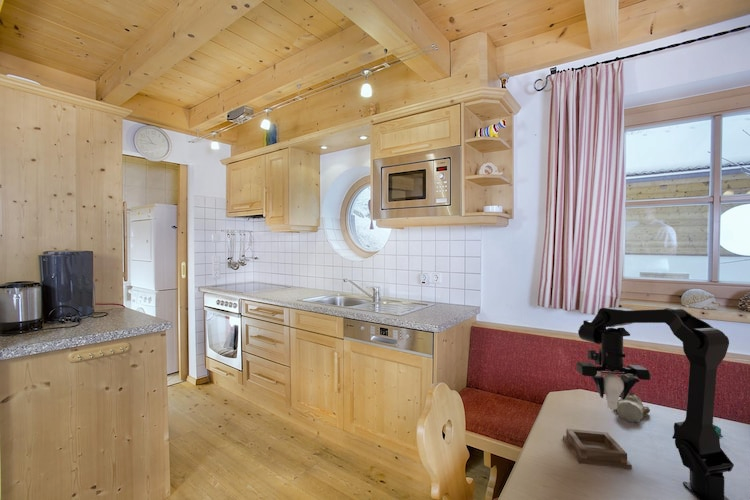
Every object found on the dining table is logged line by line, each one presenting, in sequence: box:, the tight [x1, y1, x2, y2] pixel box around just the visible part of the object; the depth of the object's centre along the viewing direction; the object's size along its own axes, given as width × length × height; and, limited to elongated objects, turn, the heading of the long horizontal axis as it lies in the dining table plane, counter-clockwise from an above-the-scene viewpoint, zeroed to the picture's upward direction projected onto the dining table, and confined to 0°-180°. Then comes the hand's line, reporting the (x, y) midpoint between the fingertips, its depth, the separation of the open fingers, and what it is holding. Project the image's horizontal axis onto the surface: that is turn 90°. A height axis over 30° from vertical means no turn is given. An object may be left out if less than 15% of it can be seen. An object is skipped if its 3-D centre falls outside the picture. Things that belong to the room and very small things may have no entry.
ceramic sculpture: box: [616, 392, 651, 423], centre depth 125 cm, size 11×9×15 cm
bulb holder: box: [562, 428, 633, 470], centre depth 102 cm, size 13×13×4 cm
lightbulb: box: [602, 373, 624, 411], centre depth 109 cm, size 6×6×11 cm
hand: (612, 398), depth 109 cm, fingers closed on lightbulb, 5 cm apart
